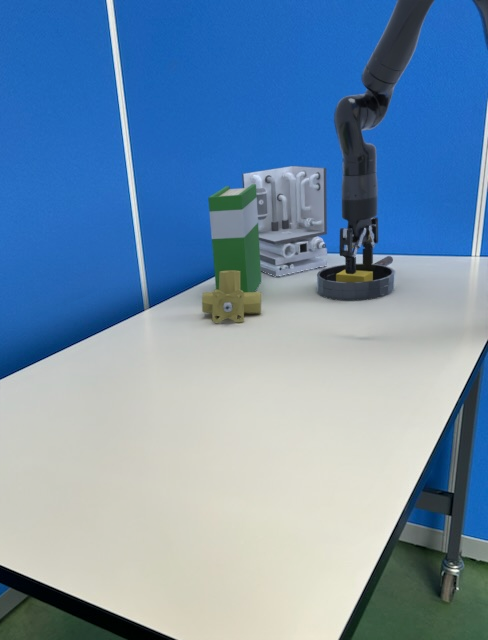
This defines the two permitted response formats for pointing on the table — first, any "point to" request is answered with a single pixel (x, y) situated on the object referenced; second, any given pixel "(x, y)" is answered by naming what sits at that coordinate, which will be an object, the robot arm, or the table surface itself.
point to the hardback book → (236, 235)
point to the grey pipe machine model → (290, 217)
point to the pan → (356, 283)
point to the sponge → (354, 276)
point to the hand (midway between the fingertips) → (359, 269)
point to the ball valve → (230, 299)
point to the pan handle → (385, 261)
